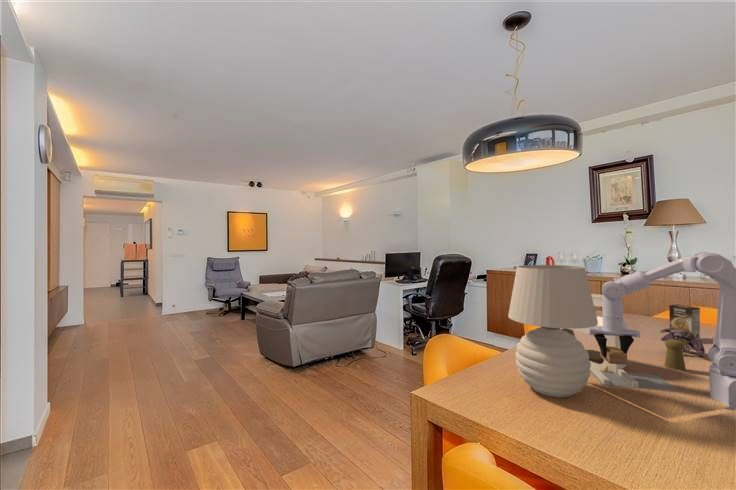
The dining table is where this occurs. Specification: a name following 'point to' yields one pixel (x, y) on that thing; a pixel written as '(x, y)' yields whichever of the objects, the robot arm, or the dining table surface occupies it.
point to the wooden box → (615, 355)
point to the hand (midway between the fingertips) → (613, 356)
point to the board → (631, 379)
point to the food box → (685, 318)
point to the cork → (674, 355)
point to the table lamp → (552, 327)
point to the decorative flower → (685, 339)
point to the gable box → (610, 339)
